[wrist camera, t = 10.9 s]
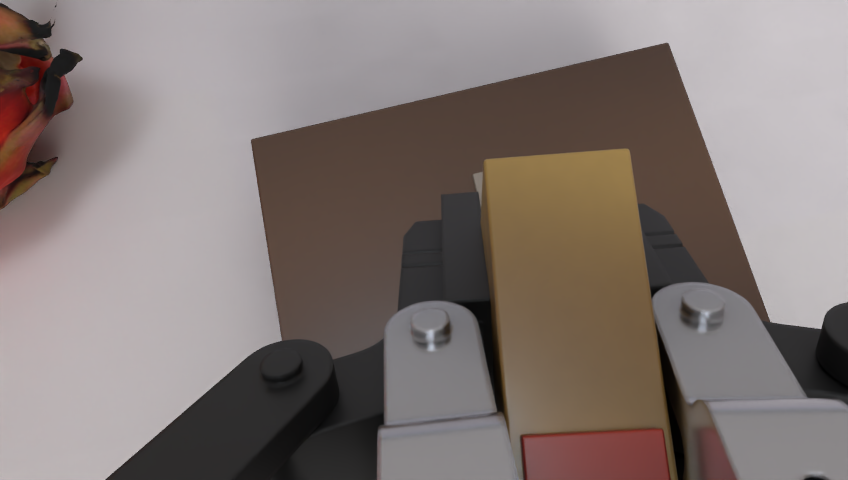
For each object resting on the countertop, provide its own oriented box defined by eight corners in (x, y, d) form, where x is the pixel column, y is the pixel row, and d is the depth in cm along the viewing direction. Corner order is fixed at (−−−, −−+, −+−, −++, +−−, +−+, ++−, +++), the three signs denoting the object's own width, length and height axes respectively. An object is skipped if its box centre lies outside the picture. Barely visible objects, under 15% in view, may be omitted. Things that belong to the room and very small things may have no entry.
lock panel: (286, 182, 18) (247, 135, 15) (636, 101, 18) (670, 37, 15) (375, 711, 14) (349, 794, 11) (811, 615, 14) (904, 672, 11)
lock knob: (477, 263, 14) (483, 150, 8) (562, 257, 14) (635, 138, 8) (495, 486, 13) (517, 559, 6) (587, 481, 12) (697, 551, 6)
